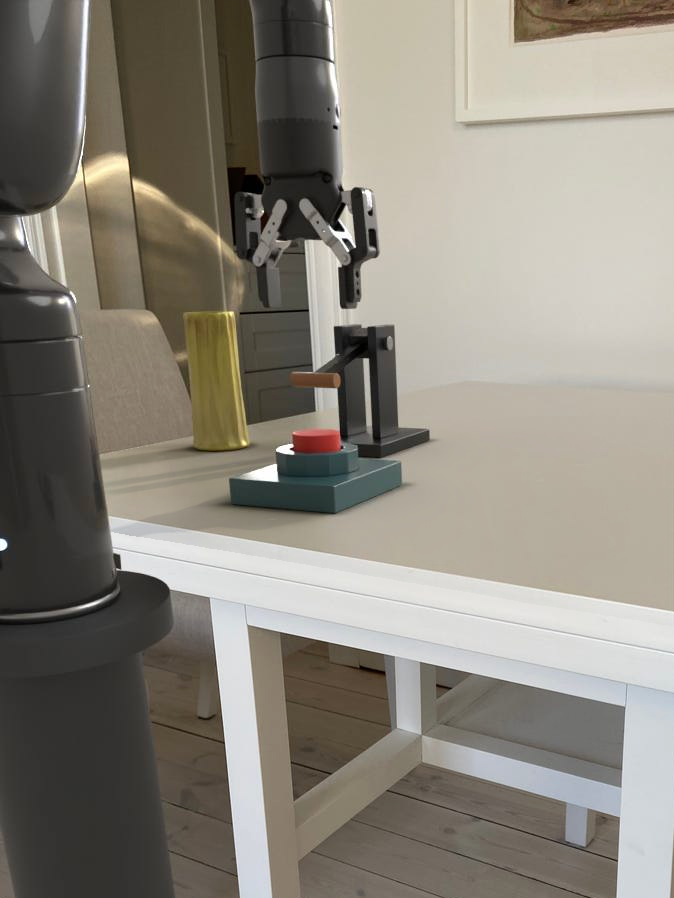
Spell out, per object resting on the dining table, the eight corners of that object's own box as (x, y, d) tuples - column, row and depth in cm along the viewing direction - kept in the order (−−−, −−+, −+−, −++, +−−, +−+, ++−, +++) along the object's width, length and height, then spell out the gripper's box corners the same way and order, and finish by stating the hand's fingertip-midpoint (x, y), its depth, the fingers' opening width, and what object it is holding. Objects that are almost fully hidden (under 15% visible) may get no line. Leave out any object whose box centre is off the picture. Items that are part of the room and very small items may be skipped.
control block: (335, 513, 79) (332, 463, 78) (230, 504, 83) (226, 456, 82) (402, 485, 90) (400, 440, 88) (307, 478, 93) (304, 435, 92)
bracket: (381, 457, 103) (375, 328, 99) (306, 453, 106) (297, 327, 102) (430, 440, 114) (426, 322, 109) (360, 436, 117) (354, 322, 112)
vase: (257, 442, 113) (245, 310, 109) (239, 451, 108) (226, 313, 103) (205, 442, 114) (191, 311, 109) (185, 451, 108) (169, 313, 103)
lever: (335, 395, 97) (331, 371, 96) (292, 393, 99) (286, 370, 98) (393, 350, 107) (389, 327, 106) (352, 349, 109) (348, 327, 107)
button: (325, 458, 83) (324, 436, 82) (284, 455, 84) (282, 434, 84) (349, 450, 86) (348, 430, 86) (309, 448, 88) (308, 427, 87)
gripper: (208, 119, 90) (225, 309, 95) (347, 109, 85) (356, 310, 90) (256, 130, 96) (269, 307, 102) (387, 121, 91) (393, 307, 97)
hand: (310, 308), depth 96 cm, fingers open, 8 cm apart
